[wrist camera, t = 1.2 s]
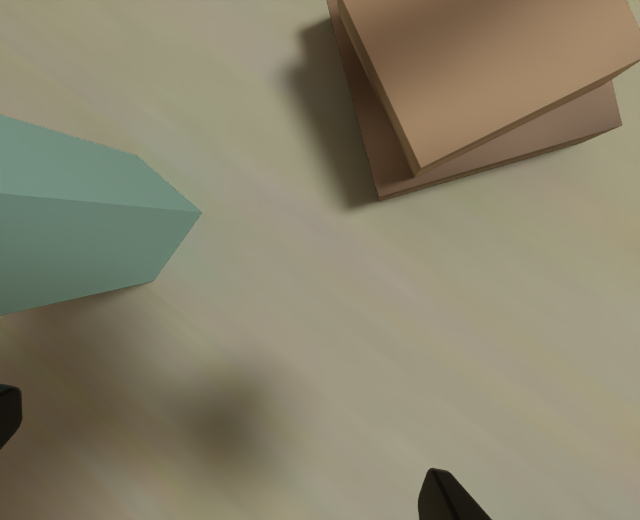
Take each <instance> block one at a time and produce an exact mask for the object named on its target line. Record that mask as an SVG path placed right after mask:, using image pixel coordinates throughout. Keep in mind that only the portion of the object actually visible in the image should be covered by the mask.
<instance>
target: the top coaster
mask: <svg viewBox="0 0 640 520" xmlns="http://www.w3.org/2000/svg"><path fill="white" fill-rule="evenodd" d="M337 5H338V10H339V15H340V19H341V21H342V23H343V25H344V27H345V29H346V32H347V34H348V36H349V38H350V40H351V42H352V44H353V46H354V49H355V51H356V53H357V55H358V57H359V59H360V61H361V64H362V66H363V68H364V70H365V72H366V74H367V76H368V79H369V81H370V83H371V85H372V87H373V89H374V91H375V94H376V96H377V98H378V100H379V102H380V104H381V106H382V109H383V111H384V113H385V115H386V117H387V119H388V121H389V124H390V126H391V128H392V130H393V132H394V134H395V136H396V139H397V141H398V143H399V145H400V147H401V149H402V151H403V154H404V156H405V158H406V160H407V162H408V164H409V166H410V169H411V171H412V173H413V175H414V177H415V178H416V177H418V176H420V175H422V174H424V173H426V172H428V171H430V170H432V169H434V168H436V167H438V166H440V165H442V164H444V163H446V162H448V161H450V160H452V159H454V158H456V157H458V156H460V155H462V154H464V153H466V152H468V151H470V150H472V149H474V148H477V147H479V146H481V145H483V144H485V143H487V142H489V141H491V140H493V139H495V138H497V137H499V136H501V135H503V134H505V133H507V132H509V131H511V130H513V129H515V128H517V127H519V126H521V125H523V124H525V123H527V122H529V121H531V120H533V119H535V118H537V117H539V116H542V115H544V114H546V113H548V112H550V111H552V110H554V109H556V108H558V107H560V106H562V105H564V104H566V103H568V102H570V101H572V100H574V99H576V98H578V97H580V96H582V95H584V94H586V93H588V92H590V91H592V90H594V89H596V88H598V87H600V86H602V85H604V84H605V83H607V82H608V81H610V80H612V79H613V78H615V77H616V76H618V75H619V74H621V73H622V72H624V71H625V70H627V69H628V68H630V67H631V66H633V65H634V64H636V63H637V62H639V61H640V29H639V27H638V24H637V22H636V20H635V18H634V16H633V14H632V11H631V9H630V7H629V5H628V3H627V1H626V0H337Z"/></svg>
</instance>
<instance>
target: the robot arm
mask: <svg viewBox="0 0 640 520" xmlns="http://www.w3.org/2000/svg"><path fill="white" fill-rule="evenodd" d="M21 421H22V394H21V390H20V389H19V388H18V387H15V386H10V385H5V384H0V449H1V448H2V447H3V446H4V445H5V444H6V443H7V441H8V440H9V439H10V438H11V437H12V436H13V435H14V433H15V432H16V431H17V430H18V428H19V426H20V424H21ZM418 512H419V520H492V519H491V518H490V517H489V516H488V515H487V514H486V513H485V511H484V510H483V509H482V508H481V507H480V506H479V505H478V503H477V502H476V501H475V500H474V499H473V498H472V497H471V496H470V494H469V493H468V492H467V491H466V490H465V489H464V488H463V486H462V485H461V484H460V483H459V482H458V481H457V480H456V479H455V477H454V476H453V475H452V474H451V473H450V472H448V471H446V470H441V469H436V468H430V469H429V470H428V472H427V474H426V477H425V479H424V482H423V485H422V488H421V491H420V494H419V498H418Z"/></svg>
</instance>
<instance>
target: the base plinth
mask: <svg viewBox="0 0 640 520" xmlns="http://www.w3.org/2000/svg"><path fill="white" fill-rule="evenodd" d="M327 4H328V9H329V13H330V17H331V21H332V24H333V28H334V32H335V36H336V39H337V43H338V47H339V51H340V55H341V58H342V62H343V66H344V70H345V73H346V77H347V81H348V85H349V89H350V92H351V96H352V100H353V104H354V107H355V111H356V115H357V119H358V123H359V126H360V130H361V134H362V138H363V141H364V145H365V149H366V153H367V157H368V160H369V164H370V168H371V172H372V176H373V179H374V183H375V187H376V191H377V194H378V198H379V201H382V200H386V199H389V198H393V197H396V196H400V195H403V194H406V193H410V192H413V191H417V190H420V189H424V188H427V187H430V186H434V185H437V184H441V183H444V182H448V181H451V180H454V179H458V178H461V177H465V176H468V175H472V174H475V173H478V172H482V171H485V170H489V169H492V168H496V167H499V166H503V165H506V164H509V163H513V162H516V161H520V160H523V159H527V158H530V157H533V156H537V155H540V154H544V153H547V152H551V151H554V150H557V149H561V148H564V147H568V146H571V145H575V144H578V143H581V142H585V141H587V140H590V139H592V138H594V137H596V136H599V135H601V134H603V133H606V132H608V131H610V130H612V129H615V128H617V127H619V126H622V122H621V118H620V114H619V109H618V105H617V101H616V97H615V92H614V88H613V84H612V80H610V81H608V82H607V83H605V84H604V85H602V86H600V87H598V88H596V89H594V90H592V91H590V92H588V93H586V94H584V95H582V96H580V97H578V98H576V99H574V100H572V101H570V102H568V103H566V104H564V105H562V106H560V107H558V108H556V109H554V110H552V111H550V112H548V113H546V114H544V115H542V116H539V117H537V118H535V119H533V120H531V121H529V122H527V123H525V124H523V125H521V126H519V127H517V128H515V129H513V130H511V131H509V132H507V133H505V134H503V135H501V136H499V137H497V138H495V139H493V140H491V141H489V142H487V143H485V144H483V145H481V146H479V147H477V148H474V149H472V150H470V151H468V152H466V153H464V154H462V155H460V156H458V157H456V158H454V159H452V160H450V161H448V162H446V163H444V164H442V165H440V166H438V167H436V168H434V169H432V170H430V171H428V172H426V173H424V174H422V175H420V176H418V177H416V178H415V177H414V175H413V173H412V171H411V169H410V166H409V164H408V162H407V160H406V158H405V156H404V154H403V151H402V149H401V147H400V145H399V143H398V141H397V139H396V136H395V134H394V132H393V130H392V128H391V126H390V124H389V121H388V119H387V117H386V115H385V113H384V111H383V109H382V106H381V104H380V102H379V100H378V98H377V96H376V94H375V91H374V89H373V87H372V85H371V83H370V81H369V79H368V76H367V74H366V72H365V70H364V68H363V66H362V64H361V61H360V59H359V57H358V55H357V53H356V51H355V49H354V46H353V44H352V42H351V40H350V38H349V36H348V34H347V32H346V29H345V27H344V25H343V23H342V21H341V19H340V15H339V10H338V5H337V0H327Z"/></svg>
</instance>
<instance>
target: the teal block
mask: <svg viewBox="0 0 640 520" xmlns="http://www.w3.org/2000/svg"><path fill="white" fill-rule="evenodd" d="M201 213H202V212H201V211H200V210H199V209H198V208H197V207H195V206H194V205H193V204H192V203H191V202H190V201H188V200H187V199H186V198H185V197H184V196H183V195H182V194H180V193H179V192H178V191H177V190H176V189H175V188H174V187H172V186H171V185H170V184H169V183H168V182H167V181H165V180H164V179H163V178H162V177H161V176H160V175H159V174H157V173H156V172H155V171H154V170H153V169H152V168H150V167H149V166H148V165H147V164H146V163H145V162H144V161H142V160H141V159H140V158H139V157H138V156H137V155H133V154H130V153H127V152H123V151H120V150H117V149H113V148H110V147H107V146H103V145H100V144H97V143H94V142H90V141H87V140H84V139H80V138H77V137H74V136H70V135H67V134H64V133H60V132H57V131H54V130H50V129H47V128H44V127H40V126H37V125H34V124H30V123H27V122H24V121H20V120H17V119H14V118H10V117H7V116H4V115H1V114H0V315H5V314H9V313H13V312H18V311H22V310H27V309H31V308H36V307H40V306H45V305H49V304H54V303H58V302H62V301H67V300H71V299H76V298H80V297H85V296H89V295H94V294H98V293H103V292H107V291H112V290H116V289H120V288H125V287H129V286H134V285H138V284H143V283H147V282H152V281H154V280H155V278H156V277H157V275H158V274H159V273H160V271H161V270H162V268H163V267H164V265H165V264H166V263H167V261H168V260H169V258H170V257H171V256H172V254H173V253H174V251H175V250H176V249H177V247H178V246H179V244H180V243H181V242H182V240H183V239H184V237H185V236H186V235H187V233H188V232H189V230H190V229H191V227H192V226H193V225H194V223H195V222H196V220H197V219H198V218H199V216H200V215H201Z"/></svg>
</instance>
